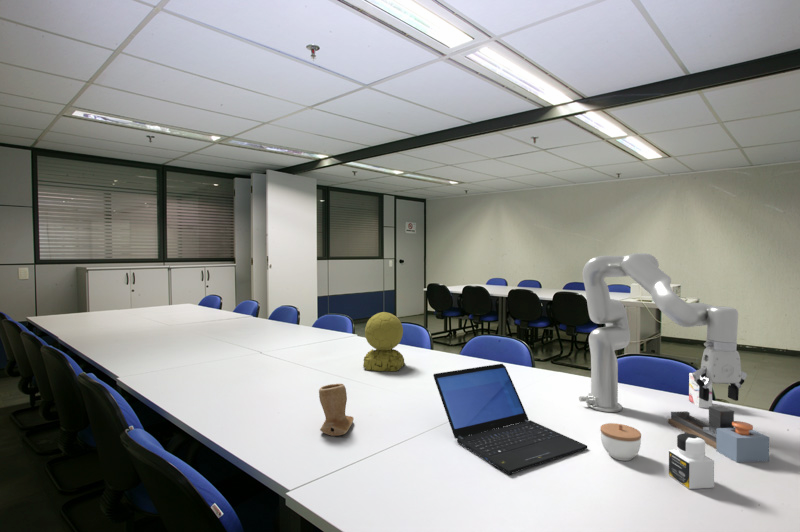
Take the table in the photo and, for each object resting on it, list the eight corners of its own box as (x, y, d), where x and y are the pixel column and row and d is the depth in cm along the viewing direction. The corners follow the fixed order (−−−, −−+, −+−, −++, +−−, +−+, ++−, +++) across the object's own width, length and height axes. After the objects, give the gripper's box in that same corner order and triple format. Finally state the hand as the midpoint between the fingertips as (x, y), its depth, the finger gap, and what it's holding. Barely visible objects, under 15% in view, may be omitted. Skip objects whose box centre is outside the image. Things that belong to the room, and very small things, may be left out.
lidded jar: (592, 451, 126) (592, 421, 126) (617, 445, 130) (617, 415, 130) (623, 467, 116) (623, 434, 116) (649, 460, 120) (649, 428, 120)
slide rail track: (719, 450, 126) (719, 438, 126) (668, 422, 148) (668, 411, 148) (744, 450, 126) (744, 437, 126) (689, 422, 148) (689, 411, 148)
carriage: (718, 443, 127) (718, 412, 127) (702, 435, 133) (703, 405, 133) (739, 443, 127) (740, 411, 127) (723, 435, 133) (723, 405, 133)
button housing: (736, 462, 119) (736, 438, 119) (716, 451, 126) (716, 428, 126) (769, 461, 119) (769, 437, 119) (747, 450, 126) (747, 427, 126)
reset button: (741, 440, 120) (741, 427, 120) (727, 433, 125) (727, 421, 125) (757, 440, 120) (757, 427, 120) (742, 433, 125) (742, 420, 125)
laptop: (508, 478, 111) (508, 407, 111) (432, 428, 144) (431, 373, 144) (589, 450, 127) (589, 388, 127) (504, 411, 160) (504, 362, 160)
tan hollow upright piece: (325, 419, 152) (324, 378, 152) (356, 421, 150) (356, 380, 150) (311, 437, 137) (310, 392, 137) (346, 438, 135) (345, 393, 135)
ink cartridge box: (688, 400, 171) (688, 365, 171) (701, 401, 170) (701, 365, 170) (698, 407, 163) (698, 370, 162) (712, 408, 162) (713, 371, 162)
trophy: (359, 371, 219) (358, 314, 218) (369, 361, 240) (368, 309, 240) (400, 372, 215) (400, 315, 215) (407, 362, 237) (407, 310, 236)
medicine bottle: (668, 475, 112) (668, 431, 112) (692, 473, 112) (693, 430, 112) (688, 489, 105) (689, 442, 105) (714, 488, 105) (715, 441, 105)
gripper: (704, 348, 126) (701, 404, 126) (758, 348, 127) (755, 403, 127) (685, 343, 133) (683, 395, 134) (736, 343, 134) (733, 395, 135)
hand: (718, 399), depth 131 cm, fingers open, 9 cm apart
